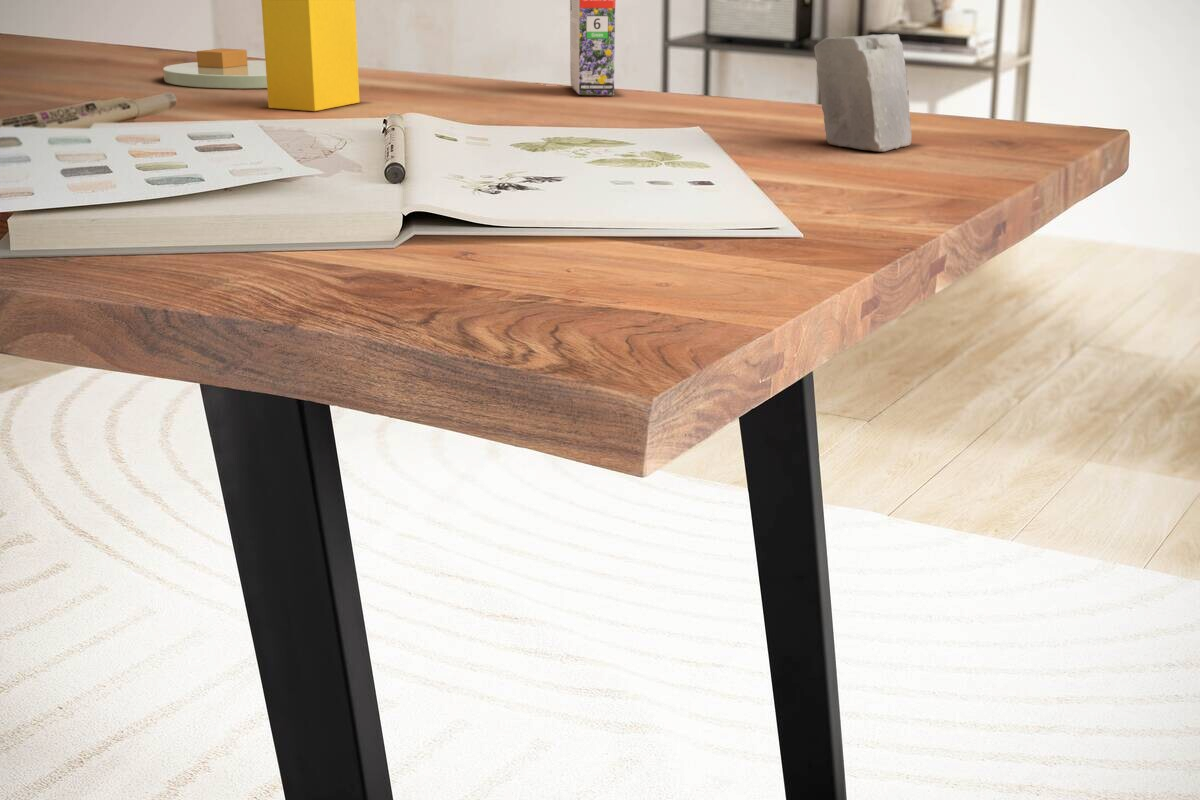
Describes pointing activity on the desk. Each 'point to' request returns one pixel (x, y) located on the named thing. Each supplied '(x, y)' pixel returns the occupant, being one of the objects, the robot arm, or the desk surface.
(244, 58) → the orange brown block
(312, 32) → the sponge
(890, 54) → the mineral specimen
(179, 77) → the plate
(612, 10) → the ink box
